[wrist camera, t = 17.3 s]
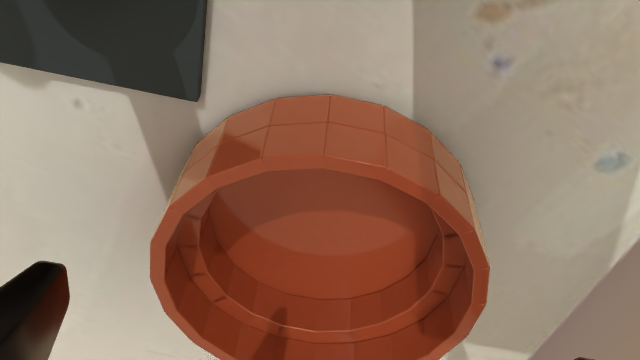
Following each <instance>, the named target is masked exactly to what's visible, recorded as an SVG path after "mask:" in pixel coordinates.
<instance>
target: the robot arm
mask: <svg viewBox="0 0 640 360" xmlns="http://www.w3.org/2000/svg"><path fill="white" fill-rule="evenodd" d="M69 300H70V293H69V285H68V277H67V270H66V267H65V266H64V265H63V264H60V263H54V262H49V261H38V262H36V263H34V264H33V265H31V266H30V267H29V268H27V269H26V270H24V271H23V272H21V273H20V274H18V275H17V276H16V277H14V278H13V279H11V280H10V281H8V282H7V283H5V284H4V285H3V286H1V287H0V360H48V358H49V355H50V353H51V350H52V347H53V345H54V342H55V340H56V337H57V334H58V332H59V329H60V327H61V324H62V322H63V319H64V316H65V314H66V311H67V308H68V305H69ZM575 360H593V359H588V358H582V357H579V358H576V359H575Z"/></svg>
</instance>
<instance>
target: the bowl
mask: <svg viewBox="0 0 640 360" xmlns="http://www.w3.org/2000/svg"><path fill="white" fill-rule="evenodd" d="M489 272H490V267H489V262H488V258H487V253H486V249H485V245H484V241H483V237H482V233H481V228H480V224H479V220H478V216H477V212H476V207H475V203H474V199H473V196H472V194H471V191H470V188H469V186H468V183H467V181H466V178H465V175H464V173H463V170H462V167H461V165H460V164H459V162H458V161H457V160H456V159H455V157H454V156H453V155H452V154H451V153H450V152H449V151H448V150H447V149H446V148H445V147H444V146H443V144H442V143H441V142H440V141H439V140H438V139H437V138H436V137H435V136H434V135H433V134H432V133H431V131H429V130H428V129H427V128H425V127H423V126H421V125H419V124H417V123H416V122H414V121H412V120H410V119H408V118H406V117H404V116H403V115H401V114H399V113H397V112H395V111H393V110H392V109H390V108H388V107H386V106H382V105H379V104H374V103H369V102H364V101H359V100H355V99H350V98H345V97H340V96H335V95H331V96H330V95H329V94H326V95H312V96H299V97H285V98H277V99H273V100H270V101H268V102H265V103H262V104H260V105H257V106H255V107H252V108H249V109H247V110H244V111H242V112H239V113H236V114H234V115H231V116H230V117H228V118H226V119H225V120H224V121H223V122H222V123H221V124H219V125H218V126H217V127H216V128H215V129H213V130H212V131H211V132H210V133H209V134H208V135H206V136H205V137H204V138H203V139H202V140H200V141H199V142H198V143H197V144H196V146H195V147H194V149H193V151H192V152H191V154H190V156H189V158H188V160H187V162H186V164H185V166H184V168H183V170H182V172H181V174H180V176H179V178H178V180H177V182H176V185H175V187H174V189H173V192H172V194H171V196H170V198H169V201H168V203H167V205H166V208H165V210H164V212H163V214H162V217H161V219H160V221H159V224H158V226H157V228H156V230H155V233H154V235H153V237H152V240H151V243H150V279H151V282H152V284H153V287H154V289H155V291H156V293H157V296H158V298H159V300H160V302H161V305H162V307H163V309H164V312H166V314H167V315H168V316H169V318H170V319H171V320H172V321H173V322H174V323H175V324H176V325H177V326H178V327H179V328H180V329H181V330H182V331H183V333H184V334H185V335H186V336H187V337H188V338H189V339H190V340H191V341H192V342H193V343H195V344H196V345H198V346H200V347H201V348H203V349H204V350H206V351H208V352H209V353H211V354H212V355H214V356H216V357H217V358H219V359H220V360H438V359H440V358H441V357H442V356H443V355H445V354H446V353H447V352H448V351H450V350H451V349H452V348H453V347H455V346H456V345H457V344H458V343H460V342H461V341H462V340H463V339H465V338H466V336H468V334H469V332H470V331H471V329H472V327H473V326H474V324H475V322H476V321H477V319H478V317H479V316H480V314H481V312H482V311H483V309H484V307H485V306H486V303H487V292H488V282H489Z"/></svg>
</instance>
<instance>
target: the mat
mask: <svg viewBox="0 0 640 360" xmlns="http://www.w3.org/2000/svg"><path fill="white" fill-rule="evenodd" d="M206 11H207V0H0V62H2V63H7V64H12V65H17V66H22V67H27V68H32V69H37V70H42V71H46V72H51V73H56V74H61V75H66V76H71V77H76V78H81V79H86V80H91V81H95V82H100V83H105V84H110V85H115V86H120V87H125V88H130V89H135V90H140V91H145V92H149V93H154V94H159V95H164V96H169V97H174V98H179V99H184V100H189V101H194V102H198V100H199V98H200V93H201V79H202V66H203V52H204V38H205V25H206Z"/></svg>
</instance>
